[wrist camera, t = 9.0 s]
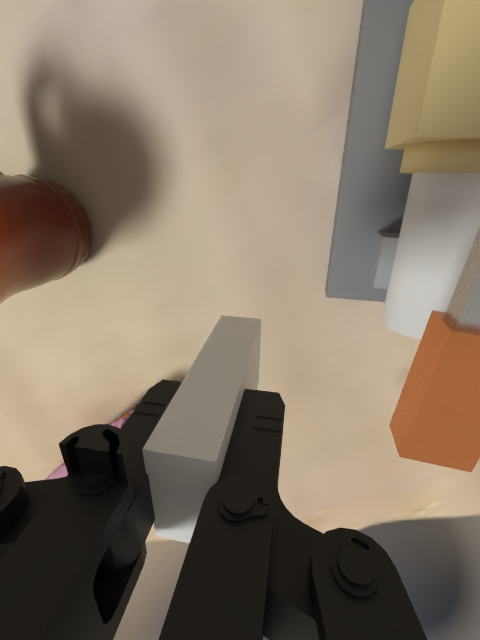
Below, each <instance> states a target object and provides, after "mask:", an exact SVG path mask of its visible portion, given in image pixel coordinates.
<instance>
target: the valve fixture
mask: <svg viewBox="0 0 480 640" xmlns="http://www.w3.org/2000/svg"><path fill="white" fill-rule="evenodd" d="M479 227H480V0H364V2H363V10H362V17H361V25H360V33H359V40H358V48H357V55H356V63H355V70H354V78H353V85H352V93H351V100H350V108H349V116H348V123H347V131H346V138H345V146H344V153H343V161H342V168H341V176H340V183H339V191H338V199H337V206H336V214H335V221H334V229H333V236H332V244H331V251H330V259H329V266H328V274H327V281H326V289H325V292H326V297H331V298H343V299H355V300H367V301H379V302H385V305H384V310H383V314H382V322H383V324H384V325H385V326H387V327H388V328H390V329H391V330H393V331H395V332H397V333H400V334H402V335H405V336H408V337H412V338H416V339H422V336H423V333H424V331H425V328H426V325H427V323H428V320H429V317H430V315H431V312H432V310H435V311H441V312H446V311H447V309H448V306H449V304H450V301H451V299H452V296H453V293H454V291H455V288H456V286H457V283H458V281H459V278H460V276H461V273H462V270H463V268H464V265H465V263H466V260H467V258H468V255H469V253H470V250H471V248H472V245H473V242H474V240H475V237H476V235H477V232H478V230H479Z"/></svg>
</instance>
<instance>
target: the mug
mask: <svg viewBox="0 0 480 640" xmlns="http://www.w3.org/2000/svg"><path fill="white" fill-rule="evenodd" d="M90 245H91V232H90V226H89V223H88V220H87V217H86V215H85V213H84V211H83V209H82V207H81V206H80V204H79V203H78V202H77V200H76V199H75V198H74V197H73V196H72V195H71V194H70V193H69V192H68V191H66V190H65V189H64V188H62V187H60V186H59V185H57V184H55V183H52V182H49V181H47V180H44V179H40V178H37V177H29V176H25V175H14V176H9V175H4V174H3V173H1V171H0V304H1V303H2V302H3V301H5V300H6V299H7V298H9V297H11V296H13V295H15V294H17V293H20V292H23V291H26V290H29V289H32V288H35V287H38V286H40V285H43V284H46V283H48V282H51V281H54V280H58V279H60V278H62V277H64V276H66V275H67V274H69V273H71V272H72V271H74V270H75V269H76V268H77V267H78V266H79V265H81V264H82V263H83V261H84V260H85V259H86V257H87V255H88V253H89V250H90Z"/></svg>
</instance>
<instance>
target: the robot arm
mask: <svg viewBox="0 0 480 640" xmlns="http://www.w3.org/2000/svg"><path fill="white" fill-rule="evenodd" d="M260 334H261V319H255V318H243V317H232V316H221V318H220V319H219V321H218V323H217V324H216V326H215V328H214V329H213V331H212V333H211V334H210V336H209V338H208V339H207V341H206V343H205V344H204V346H203V348H202V350H201V351H200V353H199V355H198V356H197V358H196V360H195V361H194V363H193V365H192V366H191V368H190V370H189V371H188V373H187V375H186V377H185V378H184V380H183V382H178V381H170V380H162V381H160V382H159V383H157V384H156V385H154V386H153V387H151V388H150V389H149V390H148V391H147V393H146V394H145V396H144V397H143V398H142V400H141V402H140V404H138V405H137V407H136V408H135V409H134V411H133V414H131V415H130V416H129V418H128V419H127V420H126V422H125V423H124V425H123V426H122V427H121V429H120V428H118V427H115V426H112V425H109V424H96V425H92V426H88V427H84V428H82V429H80V430H78V431H76V432H74V433H72V434H70V435H69V436H67V437H66V438H65V439H64V440H63V441H61V442H60V443H59V446H60V449H61V453H62V456H63V459H64V463H65V466H66V469H67V473H68V475H67V476H66V477H62V478H56V479H48V480H40V481H32V482H24V480H23V477H22V475H21V473H20V472H19V471H18V470H17V469H16V468H12V467H8V466H1V467H0V640H113V638H114V636H115V633H116V631H117V629H118V626H119V624H120V621H121V619H122V616H123V614H124V612H125V609H126V607H127V604H128V602H129V600H130V597H131V594H132V592H133V590H134V587H135V585H136V582H137V580H138V578H139V575H140V572H141V571H142V568H143V565H144V562H145V558H146V554H147V552H146V545H145V541H146V538H147V536H148V534H149V532H150V529H151V527H152V525H153V522H154V526H155V532H156V536H158V537H162V538H167V539H172V540H177V541H182V542H186V543H190V544H189V547H188V550H187V553H186V556H185V560H184V563H183V566H182V569H181V572H180V575H179V578H178V581H177V585H176V588H175V591H174V594H173V597H172V600H171V603H170V606H169V610H168V613H167V616H166V619H165V622H164V625H163V628H162V632H161V635H160V637H159V640H263V636H265V637H266V638H268V639H269V640H427V638H426V636H425V633H424V631H423V629H422V626H421V624H420V622H419V620H418V617H417V615H416V613H415V610H414V608H413V606H412V603H411V601H410V599H409V597H408V594H407V592H406V590H405V587H404V585H403V583H402V581H401V578H400V576H399V574H398V571H397V569H396V567H395V565H394V564H393V562H392V561H391V559H390V557H389V556H388V554H387V552H386V551H385V550H384V549H383V548H382V547H381V546H380V545H378V543H376V542H375V541H374V540H373V539H372V538H370V537H369V536H367V535H365V534H363V533H361V532H359V531H357V530H353V529H346V528H337V529H333V530H330V531H327V532H326V533H324V534H323V533H321V532H319V531H317V530H315V529H313V528H312V527H310V526H308V525H306V524H304V523H303V522H301V521H300V520H298V519H297V518H295V517H294V516H293V515H292V514H291V513H290V512H289V511H288V510H287V509H286V507H285V506H284V504H283V502H282V501H281V499H280V495H279V492H278V478H279V467H280V457H281V447H282V435H283V423H284V411H285V405H284V402H283V400H282V398H281V396H280V394H279V393H276V392H268V391H260V390H256V389H257V385H258V381H259V359H260Z"/></svg>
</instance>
